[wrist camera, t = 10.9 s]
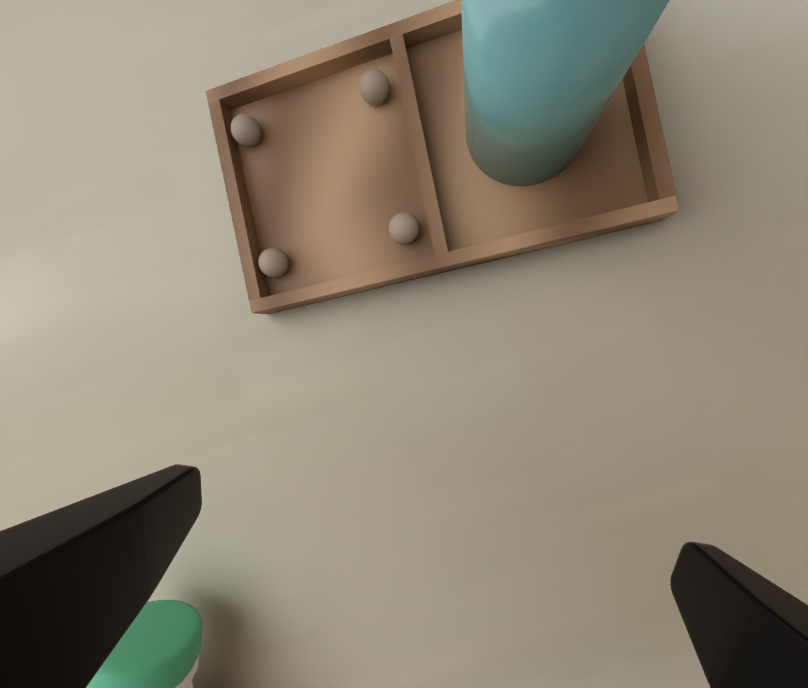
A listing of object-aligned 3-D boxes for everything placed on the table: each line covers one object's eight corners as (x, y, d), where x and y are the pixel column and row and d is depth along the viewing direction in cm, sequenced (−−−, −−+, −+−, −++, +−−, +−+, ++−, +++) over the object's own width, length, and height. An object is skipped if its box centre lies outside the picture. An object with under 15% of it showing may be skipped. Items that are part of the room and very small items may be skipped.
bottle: (610, 92, 16) (915, -434, 5) (550, 205, 17) (706, -45, 6) (499, 48, 17) (552, -496, 6) (445, 158, 18) (399, -145, 6)
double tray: (609, -28, 17) (624, -68, 15) (661, 220, 17) (682, 207, 15) (224, 107, 20) (201, 87, 18) (266, 314, 20) (248, 312, 18)
